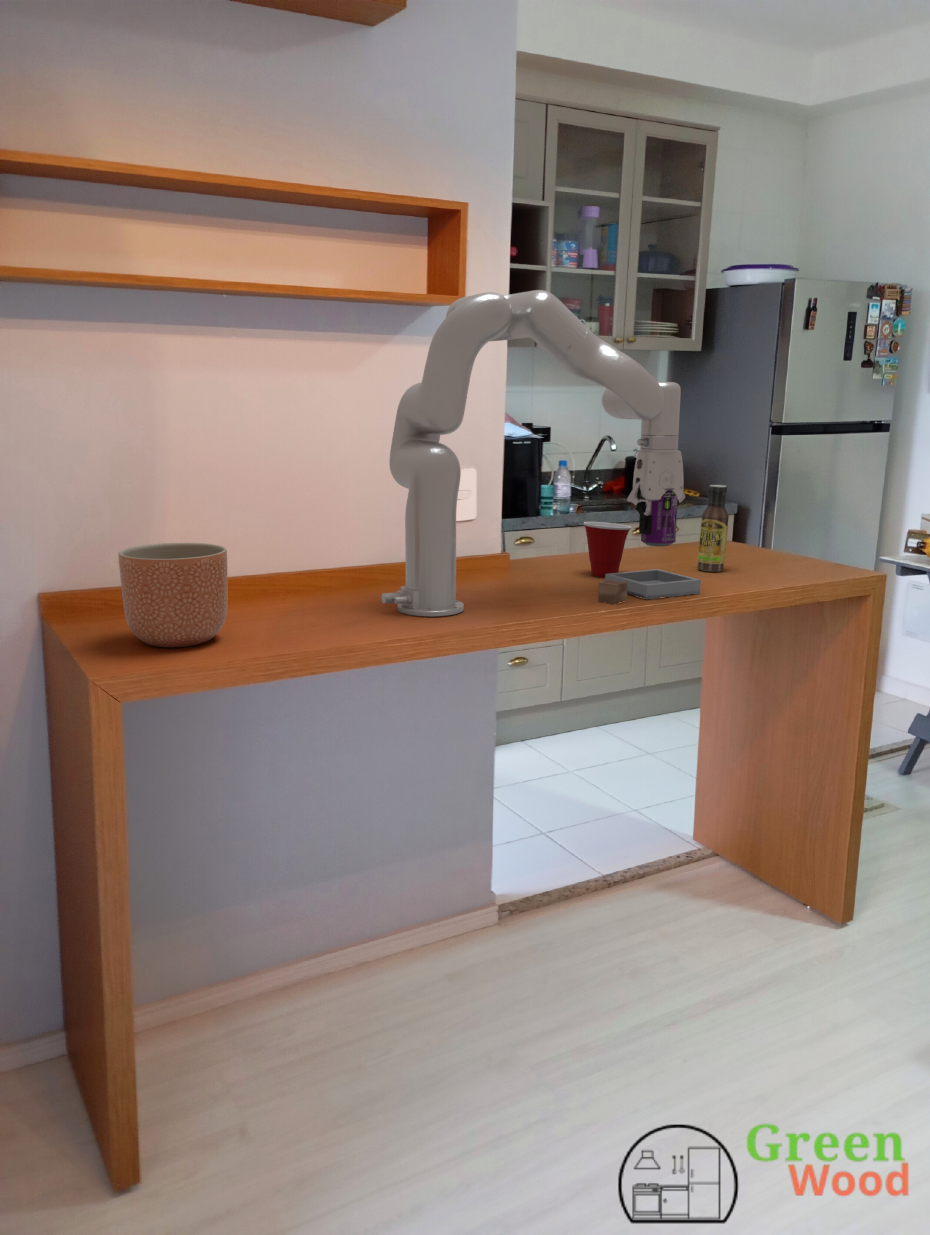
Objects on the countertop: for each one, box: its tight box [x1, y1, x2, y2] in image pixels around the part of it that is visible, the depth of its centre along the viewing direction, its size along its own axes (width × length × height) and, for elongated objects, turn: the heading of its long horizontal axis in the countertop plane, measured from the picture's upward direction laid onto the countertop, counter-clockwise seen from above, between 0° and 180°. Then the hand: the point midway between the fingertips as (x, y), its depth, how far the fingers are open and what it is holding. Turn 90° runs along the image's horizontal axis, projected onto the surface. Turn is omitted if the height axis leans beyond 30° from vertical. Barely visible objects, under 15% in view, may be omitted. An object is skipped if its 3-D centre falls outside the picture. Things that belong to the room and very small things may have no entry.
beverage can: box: [640, 488, 678, 547], centre depth 209 cm, size 7×7×12 cm
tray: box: [604, 568, 702, 600], centre depth 211 cm, size 14×14×3 cm
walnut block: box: [597, 580, 628, 605], centre depth 200 cm, size 4×4×4 cm
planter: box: [118, 542, 229, 648], centre depth 166 cm, size 17×17×15 cm
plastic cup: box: [583, 521, 632, 578], centre depth 227 cm, size 11×11×12 cm
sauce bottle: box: [697, 484, 730, 573], centre depth 234 cm, size 6×6×20 cm
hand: (655, 532), depth 209 cm, fingers closed on beverage can, 4 cm apart
